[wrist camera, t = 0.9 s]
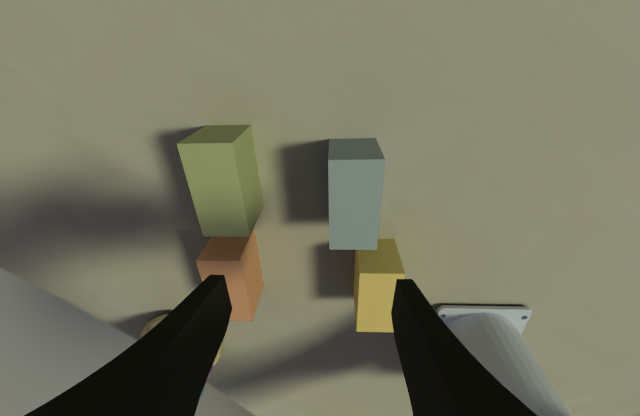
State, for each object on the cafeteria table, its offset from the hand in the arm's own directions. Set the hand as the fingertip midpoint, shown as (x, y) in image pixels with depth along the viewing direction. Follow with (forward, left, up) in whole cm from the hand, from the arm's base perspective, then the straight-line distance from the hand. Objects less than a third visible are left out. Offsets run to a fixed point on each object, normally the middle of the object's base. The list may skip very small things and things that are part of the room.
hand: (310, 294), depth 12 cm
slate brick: (+1, -2, -10) cm, 10 cm away
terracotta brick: (-6, +7, -10) cm, 13 cm away
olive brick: (+2, +6, -10) cm, 12 cm away
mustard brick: (-7, -4, -10) cm, 13 cm away
